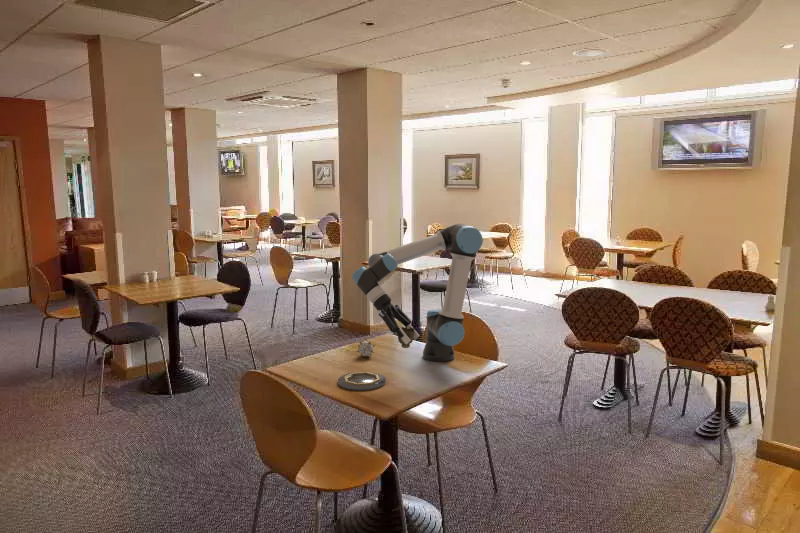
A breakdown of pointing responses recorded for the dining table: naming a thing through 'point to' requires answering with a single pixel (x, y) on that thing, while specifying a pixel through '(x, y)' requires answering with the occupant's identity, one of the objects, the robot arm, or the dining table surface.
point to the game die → (365, 348)
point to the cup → (409, 333)
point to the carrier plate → (361, 381)
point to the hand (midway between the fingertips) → (412, 340)
